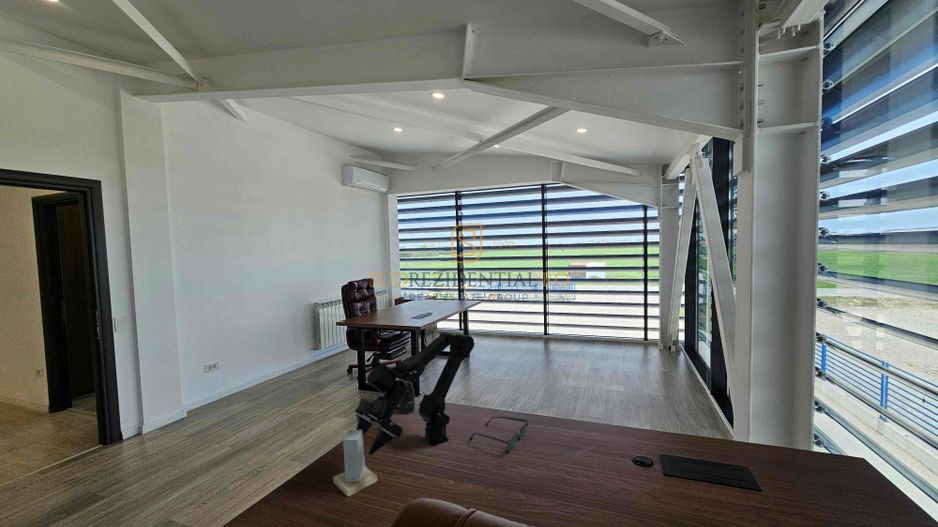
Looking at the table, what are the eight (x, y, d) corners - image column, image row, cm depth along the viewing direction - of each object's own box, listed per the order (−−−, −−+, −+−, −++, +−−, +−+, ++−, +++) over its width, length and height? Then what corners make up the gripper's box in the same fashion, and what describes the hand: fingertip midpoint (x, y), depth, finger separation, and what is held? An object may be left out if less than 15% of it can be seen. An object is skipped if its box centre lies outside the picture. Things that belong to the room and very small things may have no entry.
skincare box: (360, 481, 101) (358, 439, 100) (344, 483, 100) (342, 440, 100) (365, 468, 107) (363, 428, 106) (350, 469, 106) (348, 429, 106)
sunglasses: (488, 423, 136) (487, 410, 136) (530, 433, 127) (529, 419, 127) (465, 444, 122) (464, 429, 122) (510, 457, 113) (509, 441, 113)
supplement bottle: (411, 414, 145) (410, 385, 144) (395, 413, 146) (394, 385, 146) (417, 407, 151) (416, 379, 151) (402, 406, 153) (401, 378, 152)
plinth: (361, 468, 110) (361, 463, 110) (377, 480, 103) (377, 475, 103) (333, 482, 103) (333, 477, 103) (348, 496, 97) (347, 491, 97)
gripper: (358, 379, 114) (327, 427, 107) (391, 394, 101) (357, 449, 94) (381, 395, 120) (353, 441, 113) (415, 411, 107) (385, 464, 100)
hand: (361, 448), depth 105 cm, fingers open, 9 cm apart
